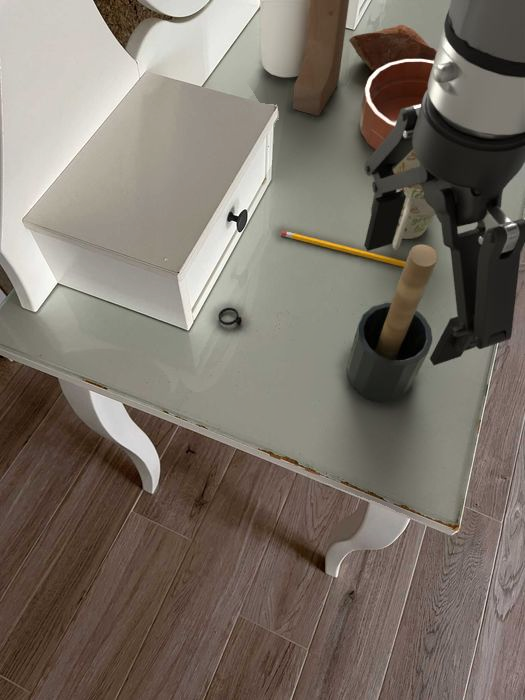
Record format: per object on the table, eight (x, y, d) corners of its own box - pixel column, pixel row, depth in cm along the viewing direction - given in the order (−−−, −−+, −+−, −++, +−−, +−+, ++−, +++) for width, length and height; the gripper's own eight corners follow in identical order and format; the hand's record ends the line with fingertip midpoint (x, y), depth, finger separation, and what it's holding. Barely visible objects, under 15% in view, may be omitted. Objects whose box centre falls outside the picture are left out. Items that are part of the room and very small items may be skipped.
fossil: (450, 53, 92) (429, 5, 84) (424, 100, 92) (400, 56, 84) (386, 48, 100) (361, 4, 92) (362, 90, 100) (335, 50, 93)
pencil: (282, 232, 79) (283, 229, 78) (423, 268, 76) (425, 265, 75) (281, 237, 78) (281, 233, 78) (422, 273, 75) (424, 270, 75)
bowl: (488, 151, 86) (502, 117, 81) (388, 179, 83) (396, 145, 78) (435, 84, 94) (445, 49, 89) (341, 107, 91) (346, 72, 86)
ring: (215, 322, 72) (236, 331, 71) (214, 317, 71) (235, 326, 70) (225, 308, 73) (246, 316, 72) (224, 303, 72) (245, 311, 71)
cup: (291, 92, 93) (296, 2, 80) (249, 72, 95) (248, -19, 83) (321, 65, 96) (330, -25, 84) (280, 46, 98) (283, -44, 86)
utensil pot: (423, 390, 67) (445, 351, 59) (363, 411, 66) (377, 374, 58) (394, 336, 70) (411, 294, 63) (336, 355, 69) (346, 314, 61)
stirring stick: (404, 380, 67) (459, 267, 49) (370, 392, 66) (412, 282, 48) (387, 349, 69) (434, 229, 51) (353, 360, 68) (388, 243, 50)
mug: (440, 207, 81) (461, 150, 72) (424, 277, 75) (446, 224, 66) (381, 194, 82) (395, 136, 73) (361, 261, 76) (374, 207, 67)
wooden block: (319, 117, 90) (331, -2, 74) (291, 109, 91) (298, -10, 75) (338, 83, 94) (354, -37, 78) (312, 76, 95) (323, -44, 79)
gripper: (347, 5, 41) (320, 213, 60) (548, 269, 30) (438, 427, 48) (441, -16, 43) (386, 195, 61) (669, 231, 31) (517, 399, 49)
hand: (409, 298), depth 55 cm, fingers open, 13 cm apart
